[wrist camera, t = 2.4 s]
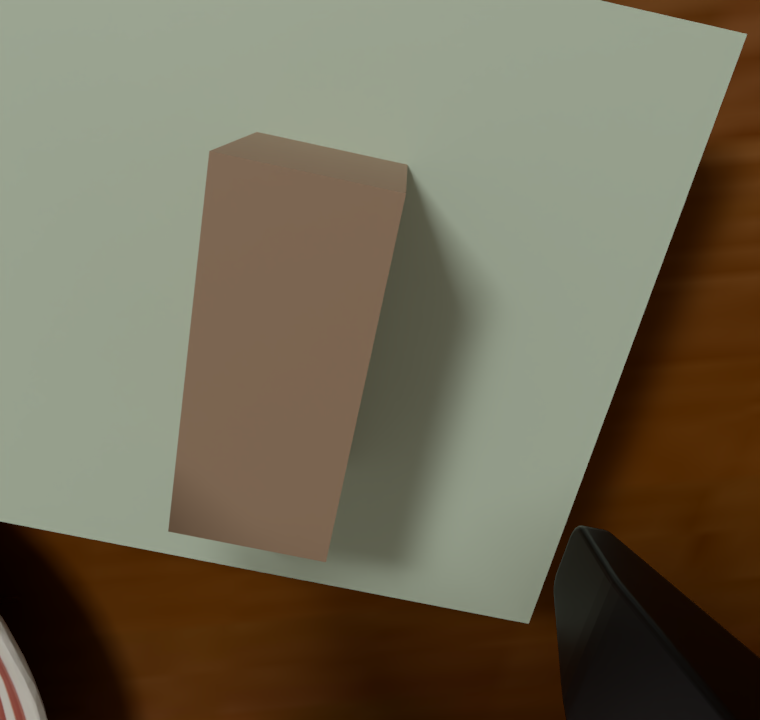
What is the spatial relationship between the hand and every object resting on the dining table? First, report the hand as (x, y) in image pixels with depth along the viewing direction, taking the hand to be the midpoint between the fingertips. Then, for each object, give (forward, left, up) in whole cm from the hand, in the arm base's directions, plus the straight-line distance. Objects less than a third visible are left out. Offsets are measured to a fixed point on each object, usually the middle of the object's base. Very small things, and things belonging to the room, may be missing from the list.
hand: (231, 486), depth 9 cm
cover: (0, 0, -7) cm, 7 cm away
